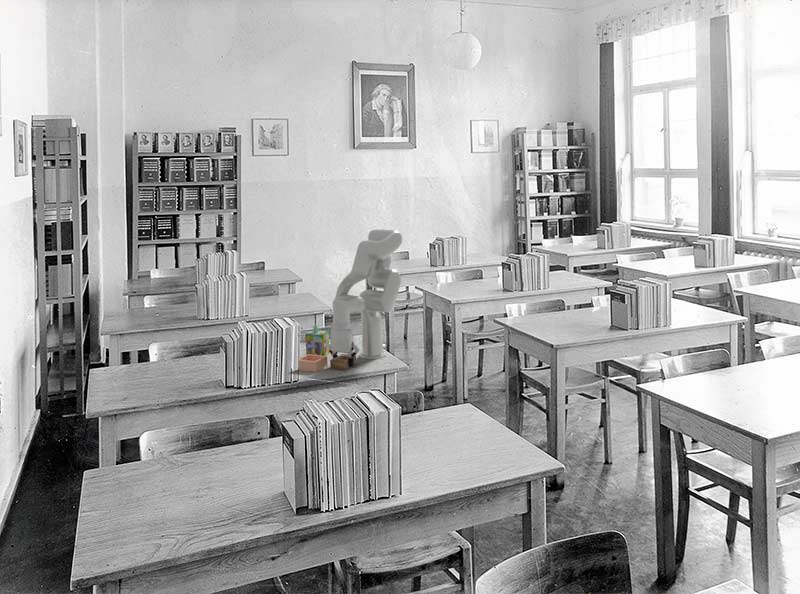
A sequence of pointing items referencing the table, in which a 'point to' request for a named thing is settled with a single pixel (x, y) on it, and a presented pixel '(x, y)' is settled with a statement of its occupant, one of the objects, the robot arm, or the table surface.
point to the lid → (341, 362)
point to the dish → (312, 363)
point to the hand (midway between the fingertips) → (343, 365)
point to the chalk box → (317, 342)
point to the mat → (344, 370)
